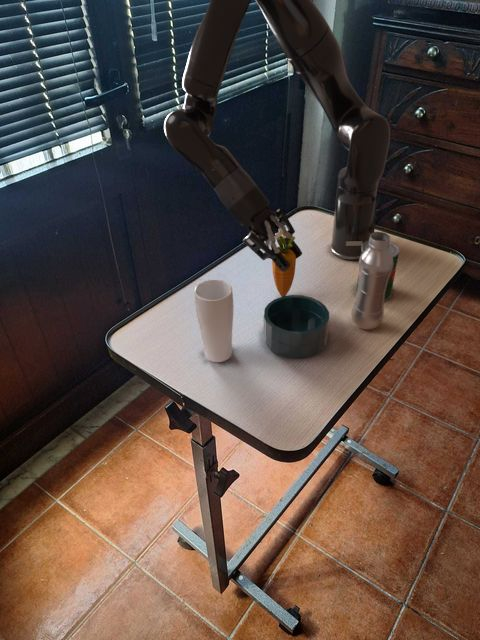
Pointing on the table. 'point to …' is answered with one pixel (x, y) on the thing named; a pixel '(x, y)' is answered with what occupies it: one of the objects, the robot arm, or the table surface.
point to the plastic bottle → (372, 282)
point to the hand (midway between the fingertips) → (292, 262)
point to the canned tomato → (394, 253)
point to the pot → (296, 326)
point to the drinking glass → (215, 318)
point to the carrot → (286, 278)
